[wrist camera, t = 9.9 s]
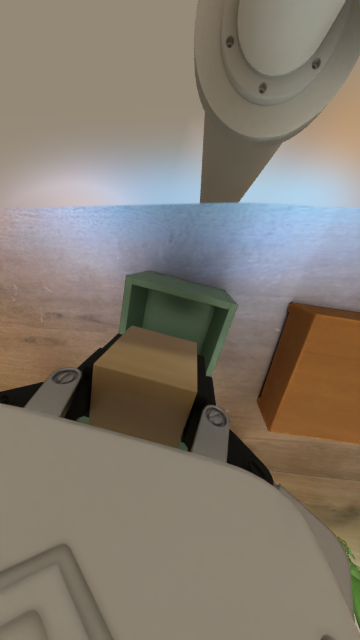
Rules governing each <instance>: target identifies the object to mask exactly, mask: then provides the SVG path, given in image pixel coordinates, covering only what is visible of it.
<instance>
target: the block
mask: <svg viewBox="0 0 360 640" xmlns="http://www.w3.org/2000/svg"><path fill="white" fill-rule="evenodd" d="M196 395H197V343H196V342H192V341H188V340H184V339H181V338H177V337H173V336H169V335H165V334H162V333H158V332H154V331H150V330H147V329H143V328H139V327H135V326H131V327H130V328H129V329H128V330H127V331H126V332H125V333H124V334H123V335H122V336H121V337H120V338H119V339H118V340H117V341H116V342H115V343H114V344H113V345H112V346H111V347H110V348H109V349H108V350H107V351H106V352H105V353H104V354H103V355H102V356H101V357H100V358H99V359H98V360H97V361H96V362H95V363H94V365H93V376H92V388H91V401H90V414H89V425H92V426H95V427H99V428H103V429H107V430H110V431H114V432H118V433H122V434H125V435H129V436H133V437H137V438H140V439H144V440H148V441H151V442H155V443H159V444H162V445H166V446H170V447H173V448H177V447H178V445H179V442H180V439H181V436H182V434H183V431H184V428H185V425H186V422H187V420H188V417H189V414H190V411H191V408H192V406H193V403H194V400H195V397H196Z"/></svg>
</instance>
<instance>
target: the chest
mask: <svg viewBox="0 0 360 640" xmlns="http://www.w3.org/2000/svg"><path fill="white" fill-rule="evenodd" d="M237 307H238V304H237V303H236V302H235V301H234V300H233V299H232V298H231V297H230V295H229V294H228V293H227V292H226V291H224V290H220V289H217V288H213V287H209V286H205V285H201V284H197V283H194V282H190V281H186V280H182V279H178V278H174V277H171V276H167V275H163V274H159V273H155V272H151V271H144V272H140V273H135V274H131V275H126V281H125V289H124V296H123V304H122V312H121V320H120V328H119V334H124V333H125V332H126V331H127V330H128V329H129V328H130V327H131V326H135V327H139V328H143V329H147V330H150V331H154V332H158V333H162V334H165V335H169V336H173V337H177V338H181V339H184V340H188V341H192V342H196V343H197V354H198V355H202V356H204V357H205V369H206V376H209V377H211V375H212V373H213V370H214V367H215V365H216V362H217V359H218V357H219V354H220V351H221V349H222V346H223V344H224V341H225V338H226V336H227V333H228V330H229V328H230V325H231V322H232V320H233V317H234V314H235V312H236V309H237Z"/></svg>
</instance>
